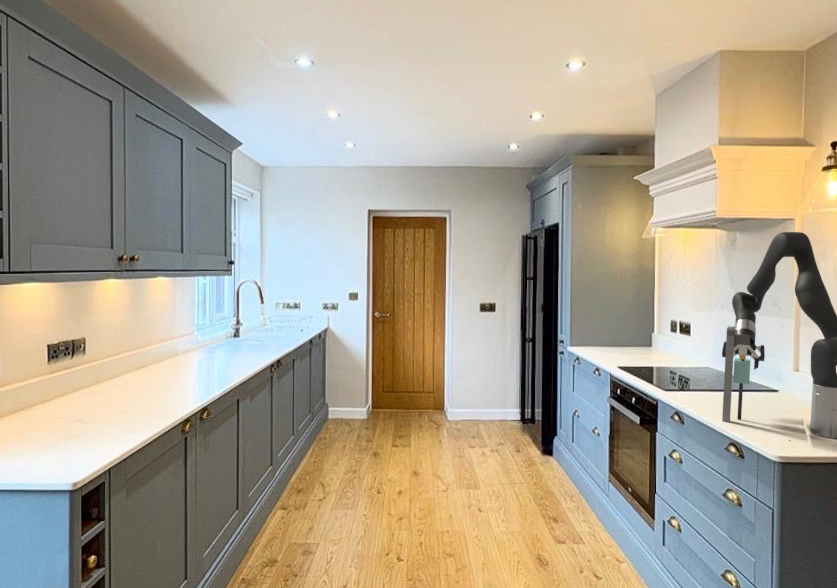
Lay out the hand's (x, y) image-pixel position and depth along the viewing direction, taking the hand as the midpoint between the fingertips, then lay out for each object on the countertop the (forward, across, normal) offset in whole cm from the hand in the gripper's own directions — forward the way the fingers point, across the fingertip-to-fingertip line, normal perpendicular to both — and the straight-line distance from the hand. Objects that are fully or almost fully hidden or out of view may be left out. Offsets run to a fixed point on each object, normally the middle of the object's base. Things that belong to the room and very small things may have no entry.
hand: (742, 366), depth 215 cm
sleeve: (+8, 0, -2) cm, 8 cm away
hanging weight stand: (+22, -1, +5) cm, 23 cm away
